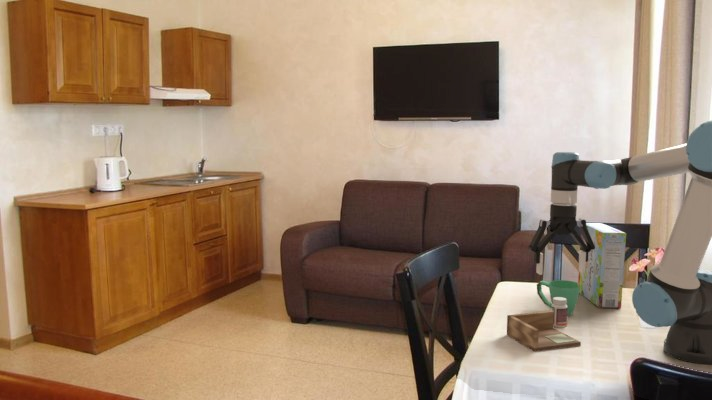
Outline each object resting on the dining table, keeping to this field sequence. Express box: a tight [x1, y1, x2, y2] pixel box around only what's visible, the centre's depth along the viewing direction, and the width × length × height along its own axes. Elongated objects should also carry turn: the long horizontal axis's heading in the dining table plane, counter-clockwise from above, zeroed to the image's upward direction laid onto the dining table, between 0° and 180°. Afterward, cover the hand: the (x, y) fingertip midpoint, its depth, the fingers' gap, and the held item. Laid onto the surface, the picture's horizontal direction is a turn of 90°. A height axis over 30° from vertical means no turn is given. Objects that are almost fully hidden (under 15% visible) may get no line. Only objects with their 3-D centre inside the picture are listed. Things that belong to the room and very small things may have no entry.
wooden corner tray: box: [506, 309, 581, 353], centre depth 182 cm, size 14×15×6 cm
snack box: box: [577, 222, 627, 309], centre depth 222 cm, size 22×9×26 cm, turn 179°
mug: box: [536, 279, 581, 317], centre depth 208 cm, size 15×10×10 cm
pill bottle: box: [550, 297, 568, 328], centre depth 196 cm, size 5×5×8 cm
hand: (560, 273), depth 194 cm, fingers open, 13 cm apart
